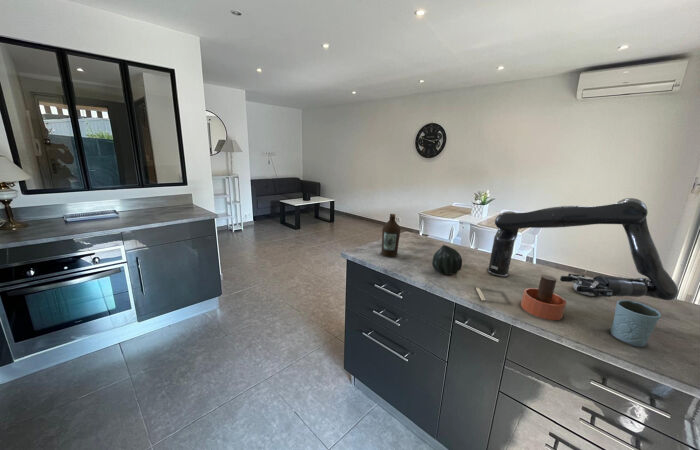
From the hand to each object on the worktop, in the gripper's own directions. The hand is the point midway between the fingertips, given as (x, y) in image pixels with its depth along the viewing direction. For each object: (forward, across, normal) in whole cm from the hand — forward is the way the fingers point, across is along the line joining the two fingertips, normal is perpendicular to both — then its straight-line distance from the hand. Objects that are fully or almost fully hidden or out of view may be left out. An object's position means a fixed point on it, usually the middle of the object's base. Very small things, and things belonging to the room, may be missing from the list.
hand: (569, 283), depth 102 cm
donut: (-25, -19, +13) cm, 34 cm away
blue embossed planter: (-12, +15, +13) cm, 23 cm away
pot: (+8, 0, +13) cm, 15 cm away
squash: (+36, -33, +13) cm, 50 cm away
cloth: (+22, -10, +13) cm, 28 cm away
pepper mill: (+8, 0, +12) cm, 15 cm away
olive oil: (+63, -54, +13) cm, 85 cm away
